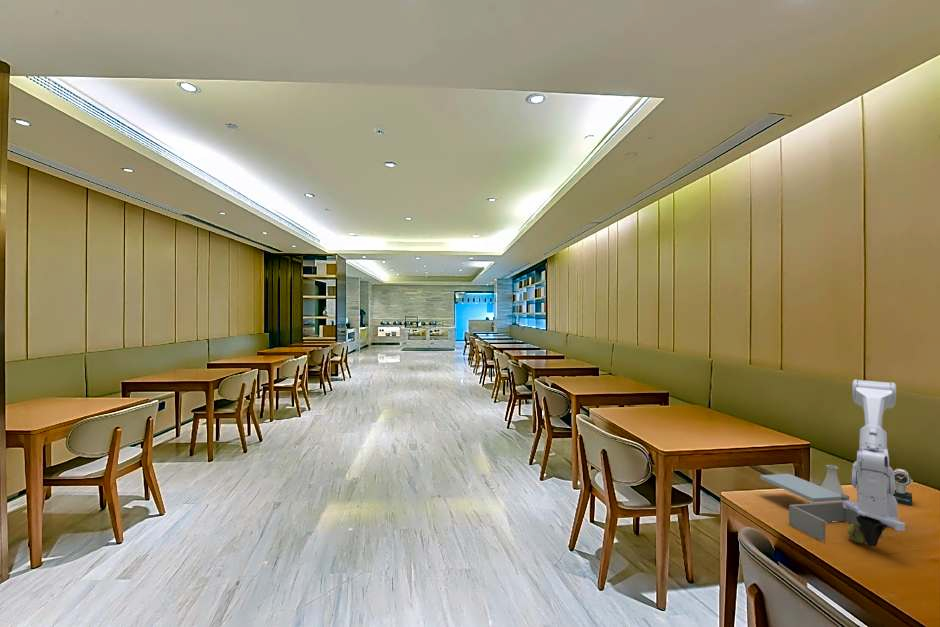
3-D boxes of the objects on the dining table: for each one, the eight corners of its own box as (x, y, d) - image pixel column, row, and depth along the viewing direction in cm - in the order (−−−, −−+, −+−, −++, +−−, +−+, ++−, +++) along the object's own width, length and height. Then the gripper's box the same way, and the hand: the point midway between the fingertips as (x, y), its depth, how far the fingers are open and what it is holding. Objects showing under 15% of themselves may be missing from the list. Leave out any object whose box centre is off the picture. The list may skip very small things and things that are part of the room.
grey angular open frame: (844, 520, 139) (844, 501, 139) (882, 537, 128) (882, 516, 128) (789, 524, 136) (789, 504, 136) (822, 542, 125) (823, 521, 125)
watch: (889, 502, 153) (889, 470, 153) (890, 496, 159) (890, 465, 159) (912, 507, 149) (912, 474, 149) (912, 500, 155) (912, 469, 155)
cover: (850, 501, 138) (850, 496, 138) (816, 503, 136) (816, 499, 136) (791, 476, 159) (791, 473, 159) (760, 478, 157) (760, 474, 157)
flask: (849, 499, 155) (850, 470, 156) (826, 497, 157) (826, 468, 157) (837, 491, 163) (837, 463, 163) (814, 489, 164) (815, 462, 164)
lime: (844, 537, 128) (845, 520, 128) (866, 541, 126) (866, 523, 126) (851, 544, 124) (851, 526, 124) (873, 548, 122) (873, 530, 122)
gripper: (833, 485, 128) (833, 533, 128) (889, 507, 114) (888, 560, 114) (854, 484, 129) (854, 531, 129) (912, 505, 115) (911, 558, 115)
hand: (871, 545), depth 122 cm, fingers closed
